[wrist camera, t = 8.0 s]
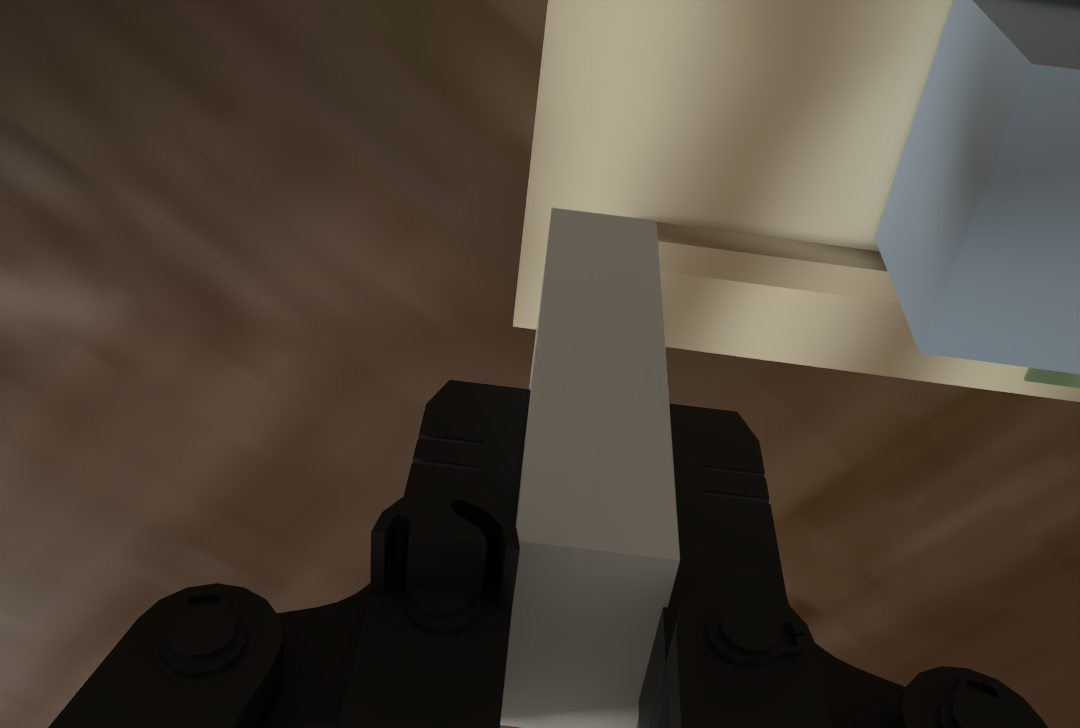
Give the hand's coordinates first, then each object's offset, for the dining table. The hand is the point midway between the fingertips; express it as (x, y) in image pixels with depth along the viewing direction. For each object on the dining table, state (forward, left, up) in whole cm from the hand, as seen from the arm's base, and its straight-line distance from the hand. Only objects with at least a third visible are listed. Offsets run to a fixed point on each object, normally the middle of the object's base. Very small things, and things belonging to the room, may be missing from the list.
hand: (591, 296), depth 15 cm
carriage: (+10, 0, -10) cm, 14 cm away
